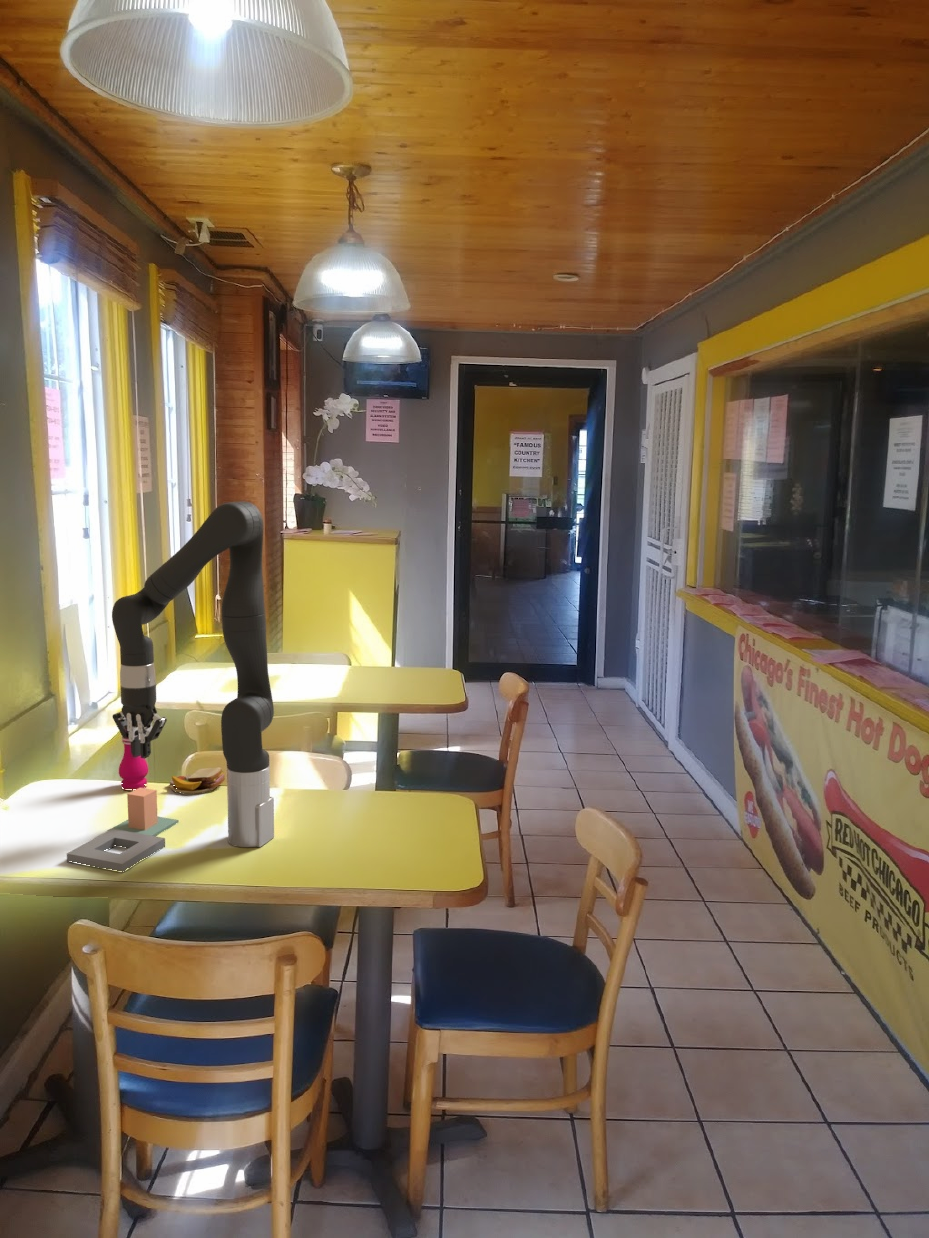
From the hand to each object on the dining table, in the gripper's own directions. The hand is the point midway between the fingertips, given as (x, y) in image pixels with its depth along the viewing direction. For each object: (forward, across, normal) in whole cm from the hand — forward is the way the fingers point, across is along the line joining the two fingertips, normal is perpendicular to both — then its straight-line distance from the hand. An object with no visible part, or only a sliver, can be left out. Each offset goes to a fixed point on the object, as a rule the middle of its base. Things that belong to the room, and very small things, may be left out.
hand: (140, 756), depth 208 cm
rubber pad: (+17, 0, 0) cm, 17 cm away
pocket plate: (+17, -4, +14) cm, 22 cm away
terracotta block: (+16, 0, 0) cm, 16 cm away
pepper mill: (+17, +19, -21) cm, 33 cm away
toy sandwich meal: (+18, +4, -28) cm, 33 cm away
